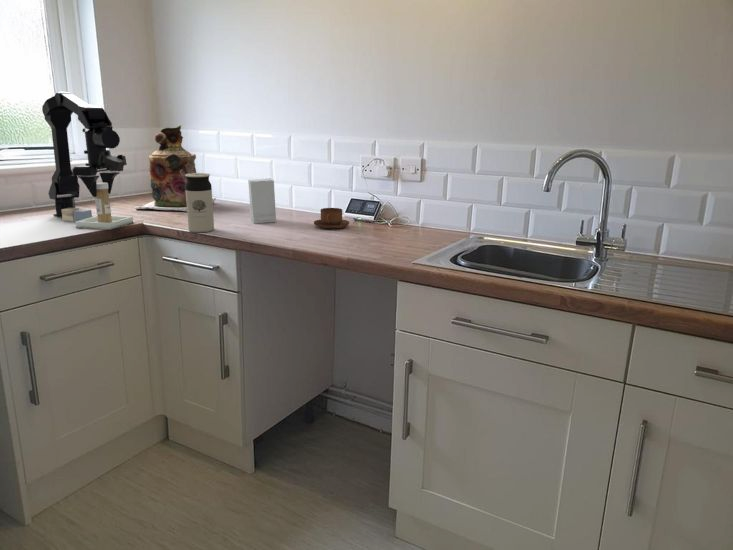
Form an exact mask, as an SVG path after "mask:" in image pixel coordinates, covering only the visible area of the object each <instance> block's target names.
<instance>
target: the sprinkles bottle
mask: <svg viewBox="0 0 733 550" xmlns="http://www.w3.org/2000/svg"><path fill="white" fill-rule="evenodd" d="M96 184H97V197H94V200H95V201H94V203H95V208H96V214H97V215H96V216H98V222H103V223H111V222H112V218H111V216H112V210H111V203H110V202H111V201H110V196H109V195H110V194H109V193H108V183H104V182H96Z"/></svg>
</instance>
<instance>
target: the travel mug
mask: <svg viewBox="0 0 733 550" xmlns="http://www.w3.org/2000/svg"><path fill="white" fill-rule="evenodd" d="M185 176H186V178H187V182H186V185H185V188H186V202H187V211H186V212H187V225H188V226H187V227H188V231H190V232H192V233H209V232H212V231H213V230H214V229H215V222H214V221H215V220H214V205H213V204H214V203H213V202H212V198H213V187H212V183H211V181H210V176H211V174H210V173H205V172H201V173H200V172H199V173H198V172H196V173H191V174H186V175H185Z"/></svg>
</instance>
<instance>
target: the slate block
mask: <svg viewBox="0 0 733 550" xmlns="http://www.w3.org/2000/svg"><path fill="white" fill-rule="evenodd" d="M73 214H74V221H73V222H74V223H75V222H76V221H80V220H84V219H87V218H91V217H93V215H92V209H86V208H85V209H80V208H79V210H76V211H73Z"/></svg>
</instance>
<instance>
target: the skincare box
mask: <svg viewBox="0 0 733 550" xmlns="http://www.w3.org/2000/svg"><path fill="white" fill-rule="evenodd" d="M247 181H248V195H249V208H250V210H249V211H250V221H251V222H252V223H253V225H254V224H255V225H256V224H265V223H266V224H267V223H276V222H277V213H276V198H275V197H276V194H275V180H273V178H260V179H259V178H257V179H248V180H247Z"/></svg>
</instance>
